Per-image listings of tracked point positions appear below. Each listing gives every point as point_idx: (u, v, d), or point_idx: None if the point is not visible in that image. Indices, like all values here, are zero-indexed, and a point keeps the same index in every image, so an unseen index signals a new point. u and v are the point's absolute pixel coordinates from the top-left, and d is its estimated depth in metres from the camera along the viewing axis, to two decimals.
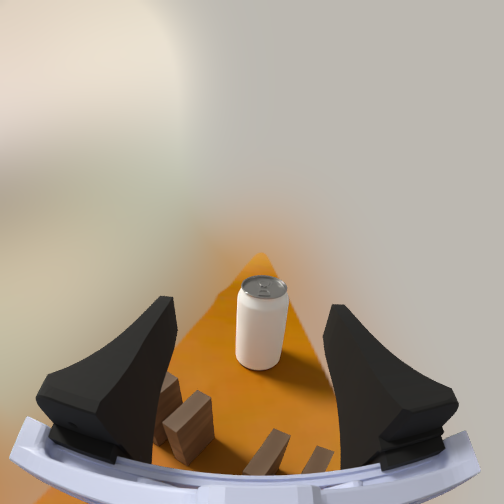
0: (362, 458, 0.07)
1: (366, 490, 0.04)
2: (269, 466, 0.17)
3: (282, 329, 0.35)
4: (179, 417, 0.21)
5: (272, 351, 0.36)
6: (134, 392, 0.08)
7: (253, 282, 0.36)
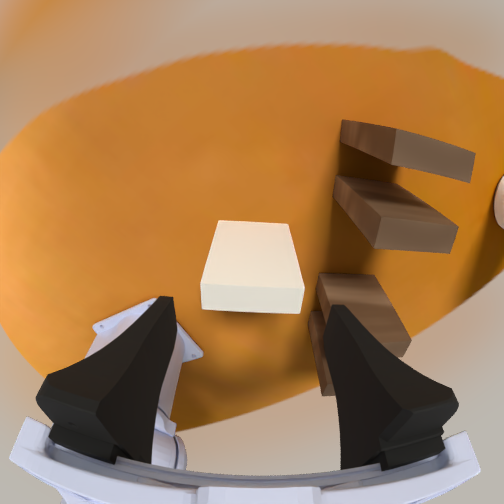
0: (362, 458, 0.07)
1: (366, 490, 0.04)
2: None
3: None
4: (403, 234, 0.12)
5: None
6: (134, 392, 0.08)
7: None
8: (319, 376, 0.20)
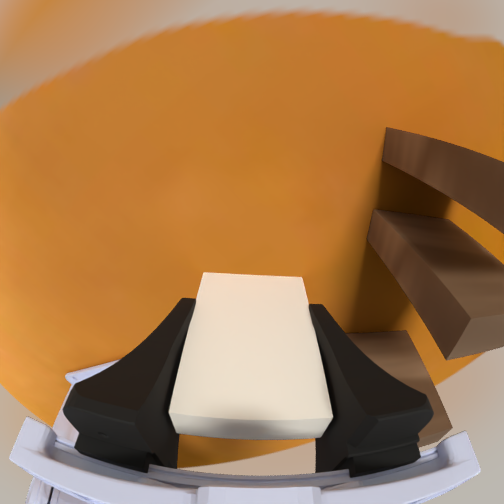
0: (333, 463, 0.07)
1: (366, 490, 0.04)
2: None
3: None
4: (487, 334, 0.06)
5: None
6: (165, 397, 0.08)
7: None
8: None
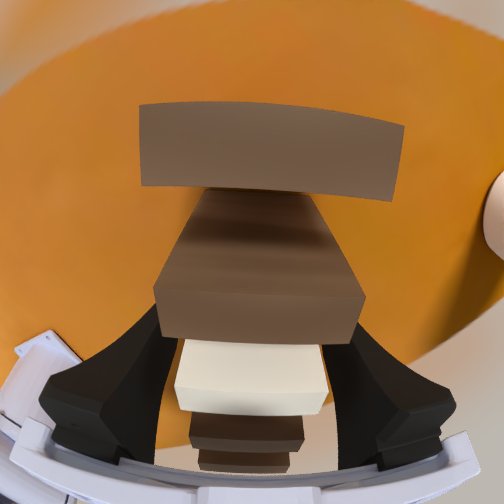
0: (359, 459, 0.07)
1: (366, 490, 0.04)
2: None
3: None
4: (214, 318, 0.07)
5: None
6: (137, 393, 0.08)
7: None
8: None
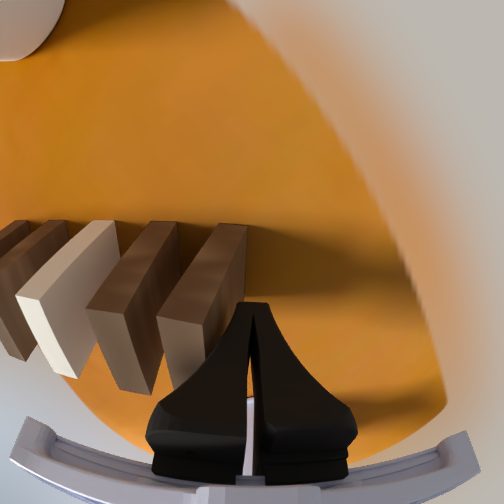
0: (256, 467, 0.07)
1: (366, 490, 0.04)
2: (142, 375, 0.10)
3: None
4: (6, 340, 0.10)
5: (23, 15, 0.06)
6: None
7: None
8: None
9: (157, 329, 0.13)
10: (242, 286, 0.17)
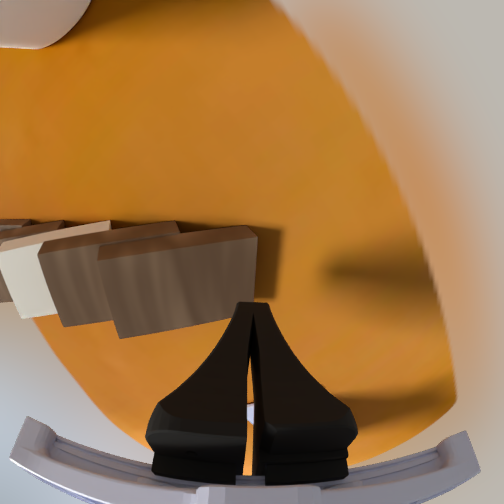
0: (256, 467, 0.07)
1: (366, 490, 0.04)
2: (57, 307, 0.13)
3: None
4: None
5: None
6: None
7: None
8: None
9: (94, 298, 0.14)
10: (241, 294, 0.16)
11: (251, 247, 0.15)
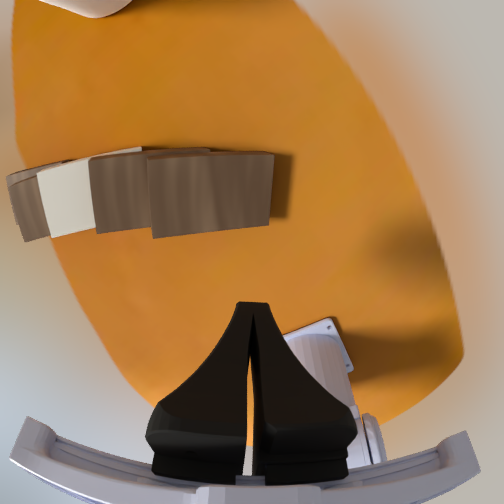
0: (256, 467, 0.07)
1: (366, 490, 0.04)
2: (94, 213, 0.17)
3: None
4: None
5: None
6: None
7: None
8: None
9: (131, 203, 0.17)
10: (259, 205, 0.19)
11: (269, 163, 0.18)
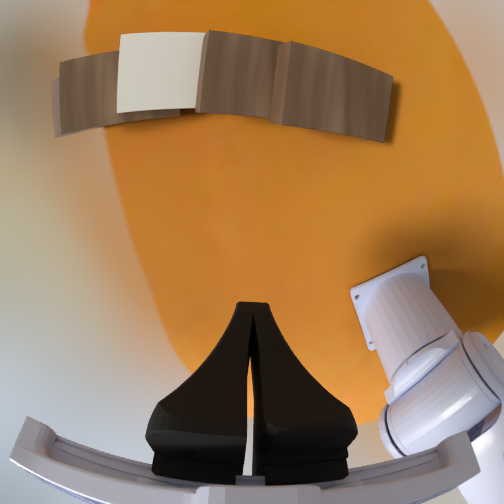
0: (256, 467, 0.07)
1: (366, 490, 0.04)
2: (202, 87, 0.13)
3: None
4: None
5: None
6: None
7: None
8: (305, 127, 0.15)
9: (248, 86, 0.14)
10: (379, 119, 0.16)
11: (389, 82, 0.15)
